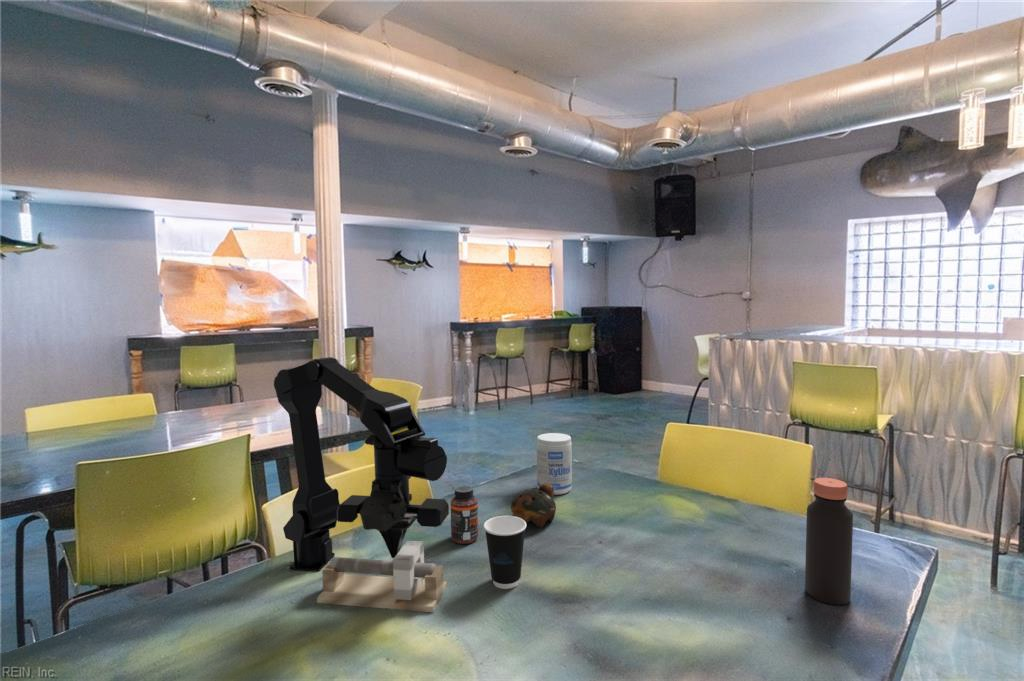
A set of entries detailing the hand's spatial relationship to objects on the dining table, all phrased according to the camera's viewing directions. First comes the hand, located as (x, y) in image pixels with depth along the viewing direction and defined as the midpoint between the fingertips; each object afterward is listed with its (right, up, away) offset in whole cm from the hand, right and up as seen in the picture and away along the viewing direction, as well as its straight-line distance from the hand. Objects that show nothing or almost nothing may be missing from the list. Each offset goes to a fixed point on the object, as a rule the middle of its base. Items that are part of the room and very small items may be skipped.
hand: (395, 557), depth 92 cm
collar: (+3, -6, 0) cm, 6 cm away
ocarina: (+26, -5, +30) cm, 40 cm away
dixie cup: (+20, -7, +4) cm, 21 cm away
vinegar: (+75, -6, -2) cm, 76 cm away
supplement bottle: (+10, -5, +22) cm, 25 cm away
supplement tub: (+32, -3, +51) cm, 60 cm away
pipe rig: (-2, -7, +1) cm, 7 cm away
